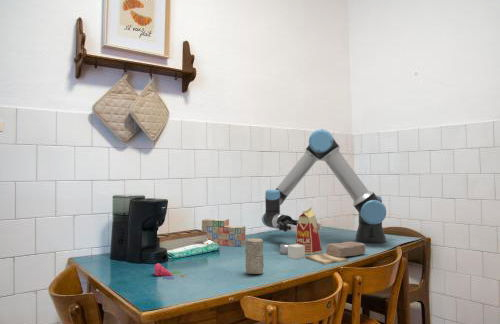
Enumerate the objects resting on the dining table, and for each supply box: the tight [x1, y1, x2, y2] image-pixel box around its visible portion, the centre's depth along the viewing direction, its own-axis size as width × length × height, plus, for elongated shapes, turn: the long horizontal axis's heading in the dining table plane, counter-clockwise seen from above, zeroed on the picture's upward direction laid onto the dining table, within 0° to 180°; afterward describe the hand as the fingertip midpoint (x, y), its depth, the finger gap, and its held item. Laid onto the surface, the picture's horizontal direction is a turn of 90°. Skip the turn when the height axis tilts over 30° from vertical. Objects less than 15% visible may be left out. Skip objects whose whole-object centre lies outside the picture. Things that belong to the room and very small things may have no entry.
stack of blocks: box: [201, 218, 246, 248], centre depth 187 cm, size 21×6×12 cm, turn 68°
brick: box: [325, 241, 366, 258], centre depth 161 cm, size 17×8×5 cm, turn 126°
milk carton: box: [295, 206, 323, 255], centre depth 168 cm, size 9×9×20 cm
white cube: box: [287, 243, 306, 260], centre depth 157 cm, size 5×5×5 cm
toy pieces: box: [153, 263, 186, 281], centre depth 130 cm, size 12×11×4 cm
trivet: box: [304, 252, 349, 265], centre depth 153 cm, size 12×12×1 cm
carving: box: [244, 237, 265, 275], centre depth 132 cm, size 6×8×12 cm
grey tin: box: [279, 243, 292, 256], centre depth 165 cm, size 5×5×4 cm
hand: (308, 227), depth 167 cm, fingers open, 13 cm apart
